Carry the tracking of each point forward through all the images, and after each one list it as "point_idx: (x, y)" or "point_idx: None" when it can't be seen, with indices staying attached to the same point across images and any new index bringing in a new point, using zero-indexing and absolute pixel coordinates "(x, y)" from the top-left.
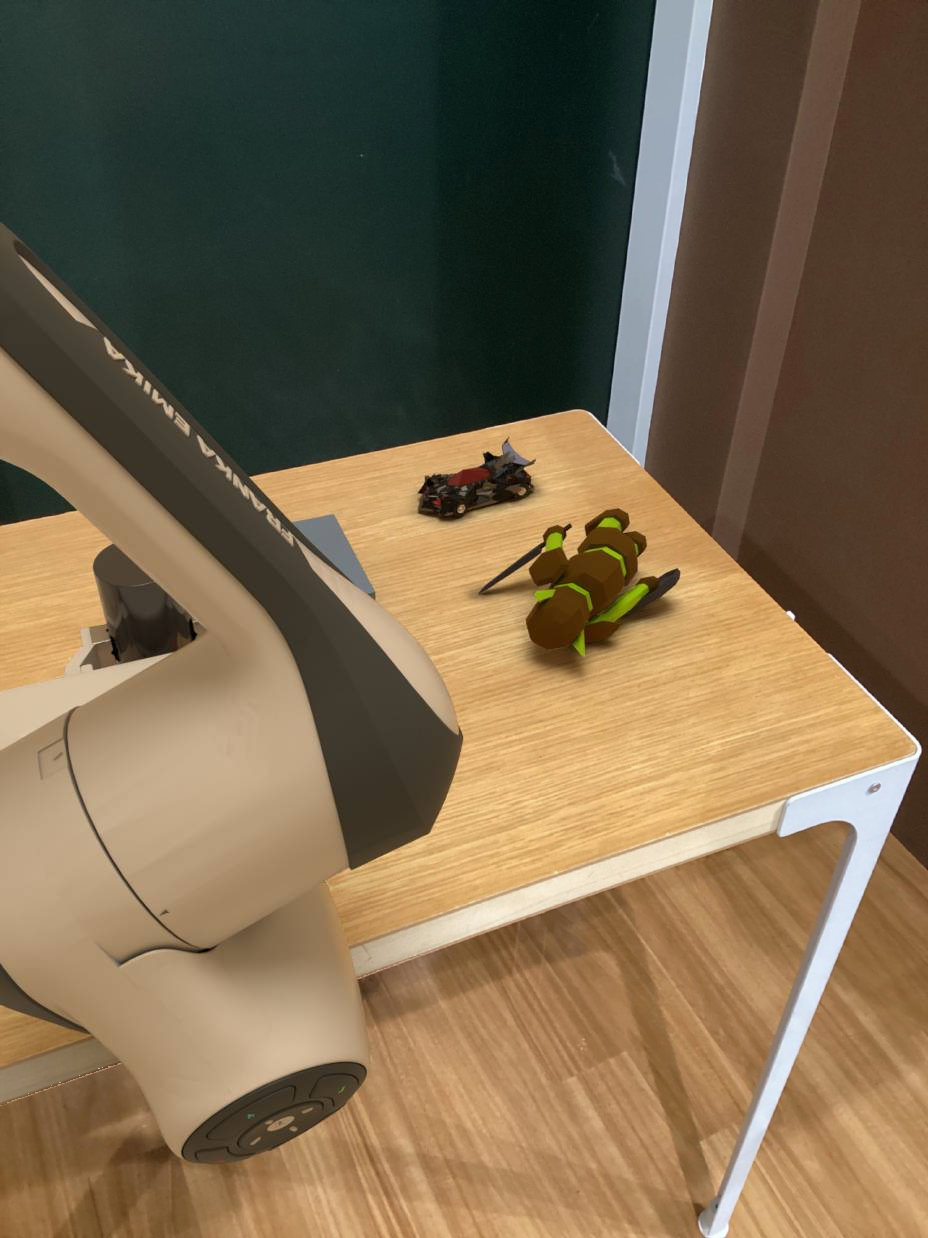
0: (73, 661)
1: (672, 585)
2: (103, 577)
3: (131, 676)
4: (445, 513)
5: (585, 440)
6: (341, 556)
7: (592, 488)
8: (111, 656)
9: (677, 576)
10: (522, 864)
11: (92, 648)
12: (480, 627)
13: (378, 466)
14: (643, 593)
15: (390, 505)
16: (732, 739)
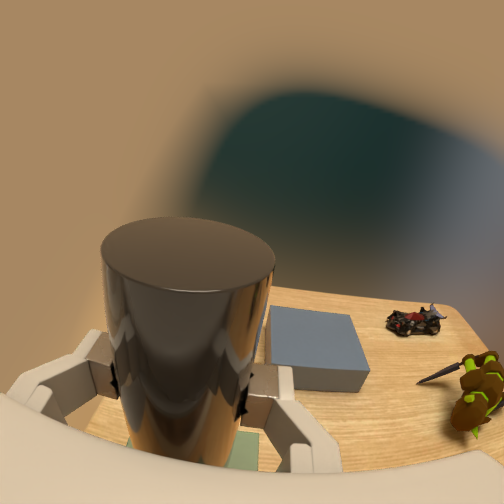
0: (40, 370)
1: None
2: (108, 247)
3: (62, 474)
4: (401, 332)
5: (455, 315)
6: (351, 341)
7: (462, 338)
8: (110, 387)
9: None
10: None
11: (79, 365)
12: (416, 406)
13: (366, 299)
14: (499, 401)
15: (371, 320)
16: None
